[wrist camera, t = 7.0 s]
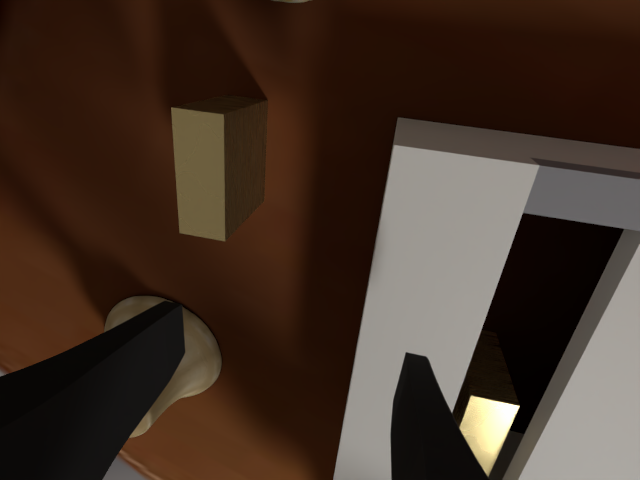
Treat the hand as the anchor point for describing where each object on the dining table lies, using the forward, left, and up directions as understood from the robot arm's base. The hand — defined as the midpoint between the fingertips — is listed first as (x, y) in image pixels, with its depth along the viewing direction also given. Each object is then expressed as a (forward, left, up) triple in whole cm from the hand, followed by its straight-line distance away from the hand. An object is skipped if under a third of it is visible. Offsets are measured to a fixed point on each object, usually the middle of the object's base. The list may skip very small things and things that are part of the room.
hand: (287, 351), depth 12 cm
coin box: (-3, -8, -9) cm, 12 cm away
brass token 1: (+4, +5, -9) cm, 11 cm away
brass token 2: (-7, -8, -9) cm, 14 cm away
